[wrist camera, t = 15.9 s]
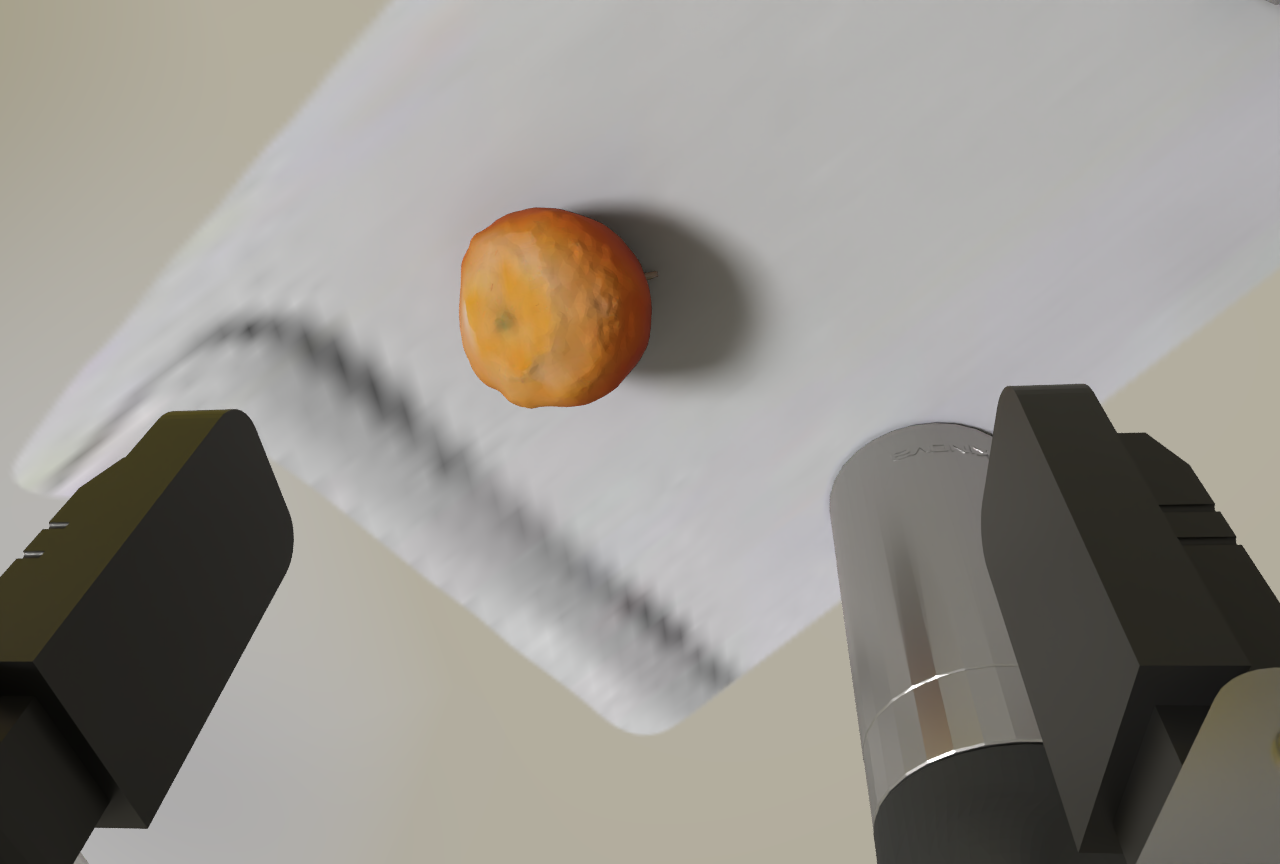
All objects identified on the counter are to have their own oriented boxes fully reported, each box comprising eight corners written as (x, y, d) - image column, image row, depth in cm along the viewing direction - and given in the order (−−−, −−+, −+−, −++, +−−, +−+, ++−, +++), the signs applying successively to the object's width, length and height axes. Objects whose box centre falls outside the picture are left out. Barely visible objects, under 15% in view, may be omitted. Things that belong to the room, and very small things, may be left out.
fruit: (641, 414, 42) (532, 469, 36) (520, 304, 44) (396, 338, 38) (733, 272, 38) (629, 307, 31) (596, 157, 40) (470, 167, 33)
